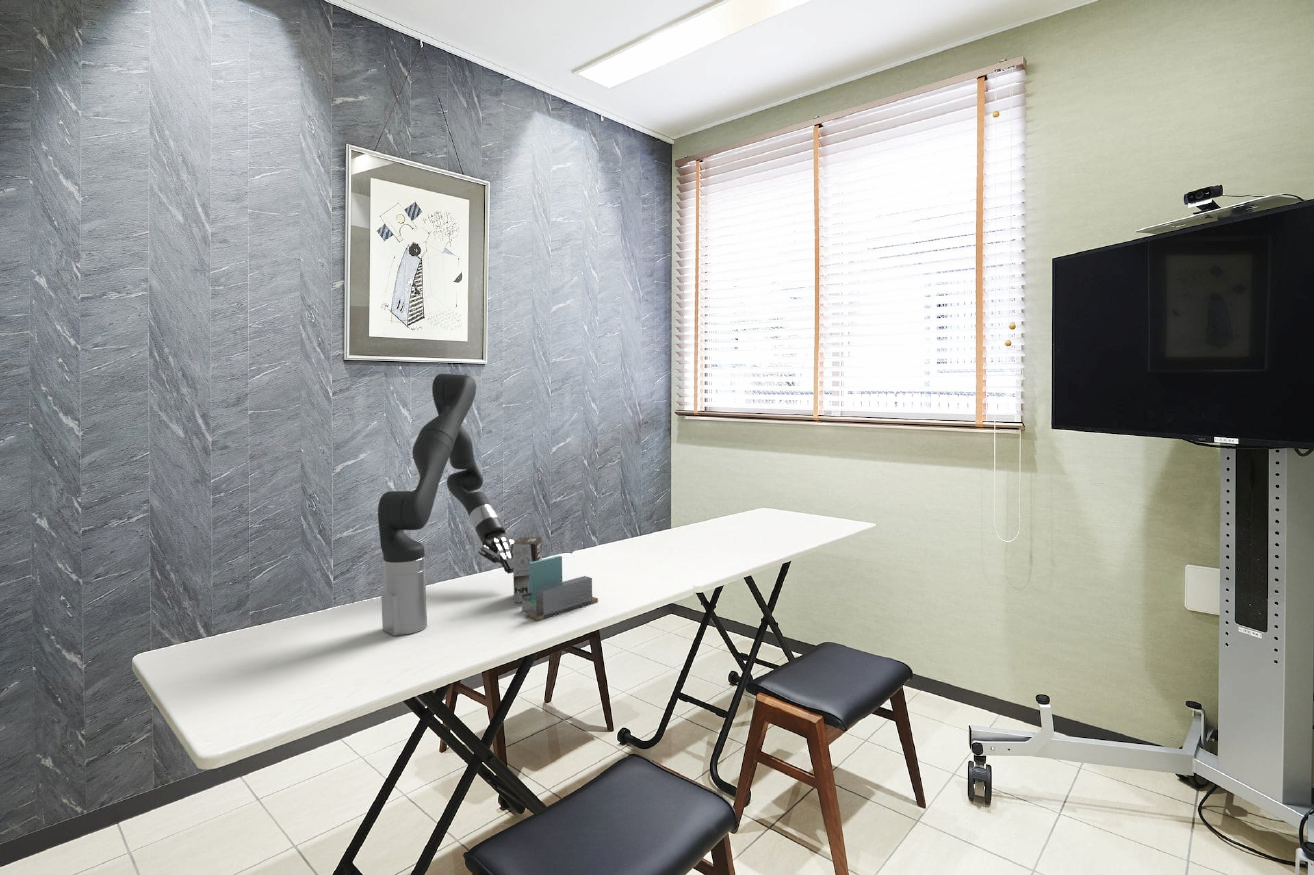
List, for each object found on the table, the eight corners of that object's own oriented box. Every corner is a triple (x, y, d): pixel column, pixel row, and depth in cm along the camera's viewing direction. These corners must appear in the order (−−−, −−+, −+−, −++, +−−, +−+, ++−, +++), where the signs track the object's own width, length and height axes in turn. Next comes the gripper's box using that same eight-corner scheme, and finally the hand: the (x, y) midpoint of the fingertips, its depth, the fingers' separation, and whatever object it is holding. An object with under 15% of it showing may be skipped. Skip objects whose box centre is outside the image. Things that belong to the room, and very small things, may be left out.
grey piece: (537, 621, 160) (536, 593, 160) (514, 612, 167) (514, 586, 167) (598, 602, 175) (597, 576, 175) (575, 594, 181) (574, 570, 181)
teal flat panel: (524, 603, 168) (523, 565, 167) (521, 602, 169) (520, 564, 168) (562, 592, 177) (561, 556, 177) (559, 591, 178) (559, 555, 177)
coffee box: (537, 602, 175) (535, 543, 174) (513, 602, 175) (511, 543, 174) (543, 592, 184) (542, 536, 183) (521, 592, 184) (519, 536, 183)
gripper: (471, 519, 186) (496, 568, 178) (510, 512, 195) (536, 559, 188) (462, 535, 190) (486, 584, 182) (501, 528, 199) (525, 574, 191)
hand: (511, 571), depth 185 cm, fingers closed
